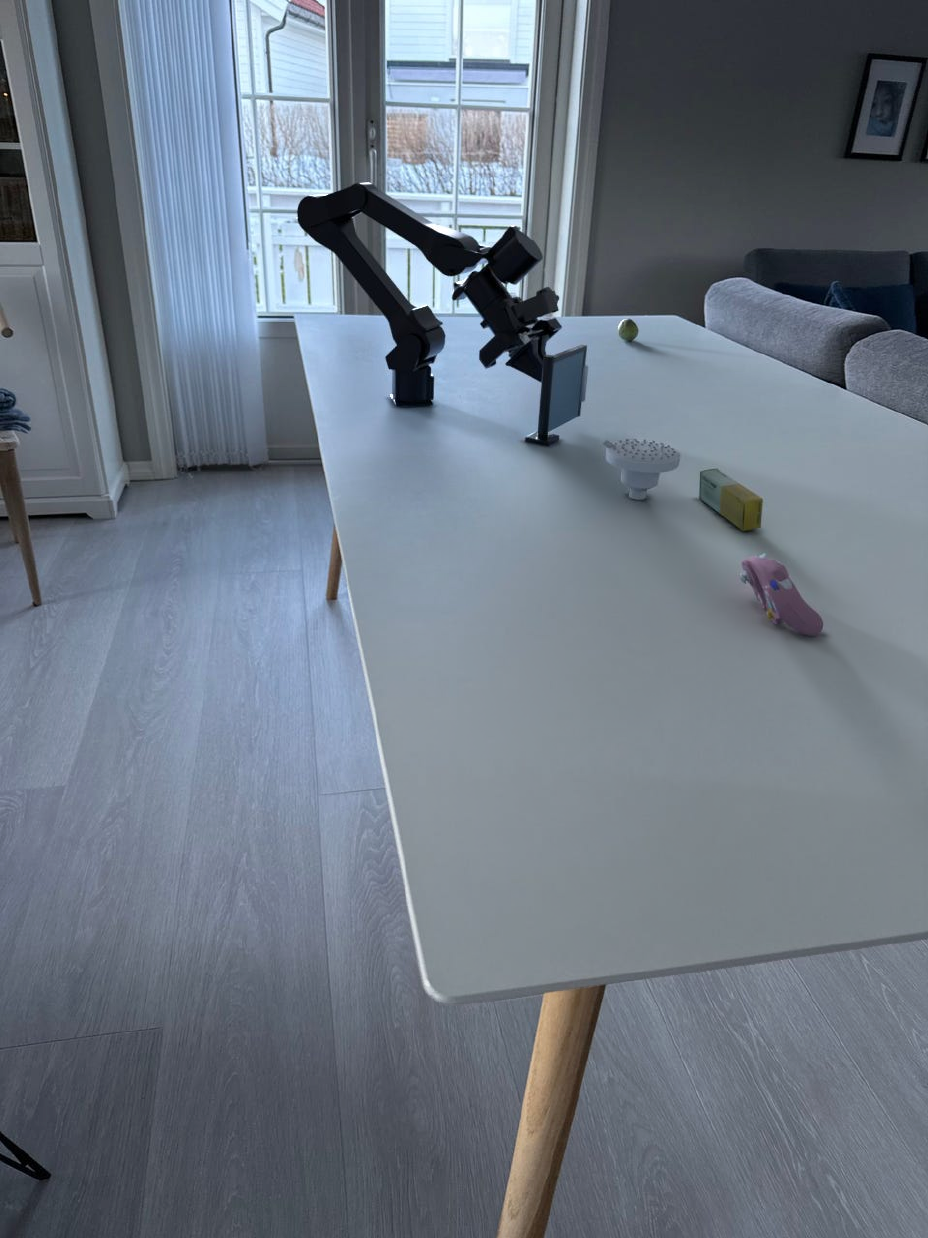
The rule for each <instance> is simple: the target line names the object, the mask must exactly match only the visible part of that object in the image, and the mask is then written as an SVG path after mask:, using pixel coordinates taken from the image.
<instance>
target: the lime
mask: <svg viewBox="0 0 928 1238" xmlns="http://www.w3.org/2000/svg"><path fill="white" fill-rule="evenodd" d="M617 335H618V336H619V337H620V339H622V340H623V341H628V342H629V341H634V340H635V339H636V338H637V337H638V335H639V327H638V325H637V323H636V322H635V321H634V320H633V319H631V318H624V319H622V320H621V322H620V323H619V324H618V327H617Z"/></svg>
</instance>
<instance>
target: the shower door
mask: <svg viewBox="0 0 928 1238" xmlns="http://www.w3.org/2000/svg"><path fill="white" fill-rule="evenodd" d="M587 353H588V344H579V345H577V346H573V347H572V348H568V349H566V350H564V351H561V352H558V353H556V354H552V355H553V356H554V366H553V378H552V390H551V402H550V414H549V427H548V433H550V432H552V431H553V430H555V429H557V428H559V427H561V426H564V425H565V424H567V423H568V422H570V421H572V420H575V419H576V418H579V417H581V412H582V403H584V402H585V401H586V395H587V394H586V393H587V385H588V376H589V375H588V373H589V366H588V365H587V364H586V361H587Z"/></svg>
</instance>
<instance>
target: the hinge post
mask: <svg viewBox="0 0 928 1238" xmlns="http://www.w3.org/2000/svg"><path fill="white" fill-rule="evenodd" d="M553 355H554V354H546V355H544V356H543V369H542V382H540V383H541V384H540V395H539V410H538V423H537V430H536V431H533V432H532V433H530V434H529V435H527V436H525V437H524V442H525V443H529V444H534V445H538V446H543V447H546V448H547V447H548V448H549V447H550V446H552V445H554V444H556V443H557V442H559V441H560V435H558V434H553V433H550V432H548V427H549V414H550V402H551V390H552V378H553V366H554V356H553Z"/></svg>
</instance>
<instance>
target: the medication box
mask: <svg viewBox="0 0 928 1238" xmlns="http://www.w3.org/2000/svg"><path fill="white" fill-rule="evenodd" d="M698 498H699V500H701V501H703V502H704V503H705V504H707V505H708V506H710V507H711V508H712V510H715V511H716V512H717V513H719V514H720V515H721V516H723V517H724V518H725V519H726V520H727V521H729V522H731V524H733V525H734V526H736V527H737V528H738V529H739V530H740V531H742V532H745V531H751V530H757V529H761V528H762V516H763V503H764V499H763V498H762V497H761V496H759V495H757V494H756V493H754V492H753V491H752V490H750V489H749V488H747V487H745V486H744V485H743V484H741V483H739V482H738V481H737V480H735V479H733V478H732V477H731V476H730V475H727V474H726V473H724V472H723V471H721V470H720V469H718V468H710V469H705V470H702V471H700V472H699V491H698Z"/></svg>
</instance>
